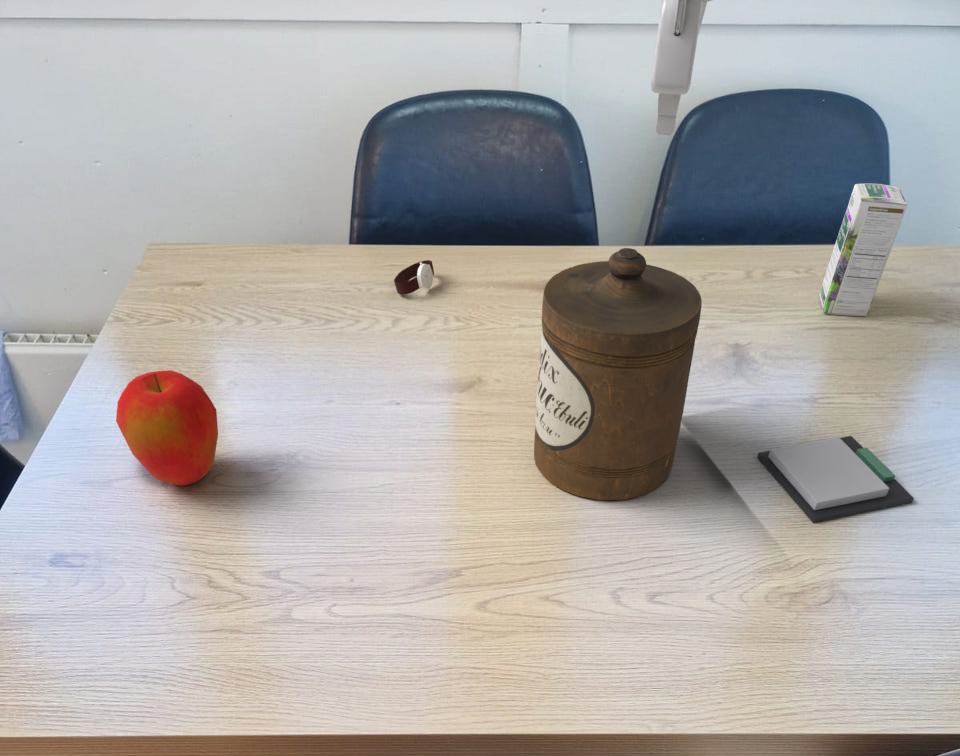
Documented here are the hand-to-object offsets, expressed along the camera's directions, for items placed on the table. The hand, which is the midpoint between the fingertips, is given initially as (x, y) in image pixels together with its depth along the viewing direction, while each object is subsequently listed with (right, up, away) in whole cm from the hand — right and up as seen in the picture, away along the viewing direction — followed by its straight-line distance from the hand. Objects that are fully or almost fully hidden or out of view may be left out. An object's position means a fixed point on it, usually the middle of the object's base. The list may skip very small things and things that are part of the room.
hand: (667, 117), depth 91 cm
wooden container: (-7, -36, +2) cm, 36 cm away
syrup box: (+29, -10, +25) cm, 40 cm away
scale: (+16, -40, -2) cm, 43 cm away
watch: (-29, -6, +28) cm, 41 cm away
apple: (-51, -38, -1) cm, 63 cm away
